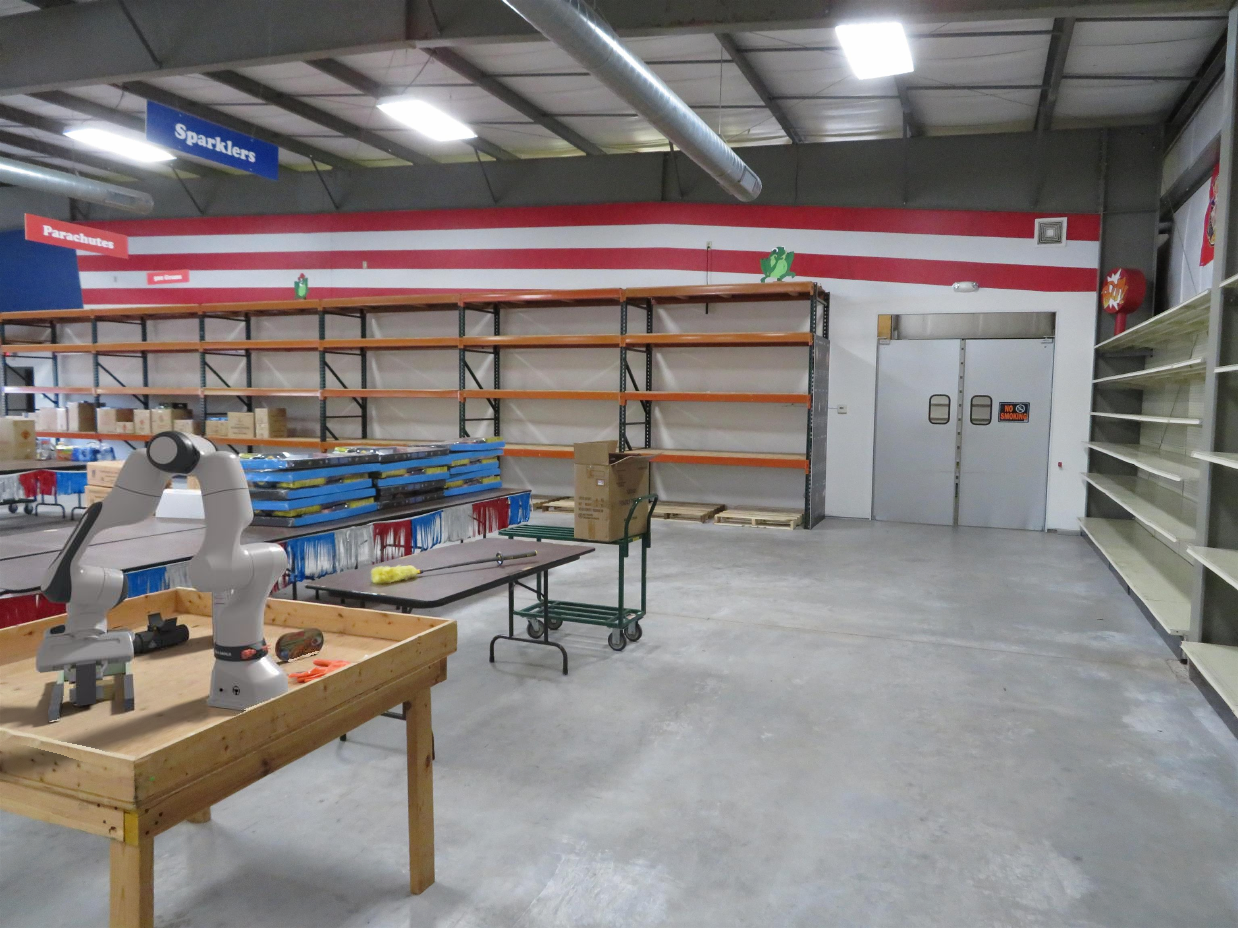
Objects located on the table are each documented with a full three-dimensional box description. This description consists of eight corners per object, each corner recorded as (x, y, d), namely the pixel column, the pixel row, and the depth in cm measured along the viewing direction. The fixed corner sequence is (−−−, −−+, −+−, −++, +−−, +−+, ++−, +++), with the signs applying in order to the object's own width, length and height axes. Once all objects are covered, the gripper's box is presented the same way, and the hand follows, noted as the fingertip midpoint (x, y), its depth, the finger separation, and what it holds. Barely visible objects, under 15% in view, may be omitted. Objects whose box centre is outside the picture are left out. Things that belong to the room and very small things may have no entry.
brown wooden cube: (113, 698, 199) (113, 683, 199) (94, 701, 197) (94, 685, 197) (114, 693, 203) (113, 678, 202) (95, 696, 200) (95, 681, 200)
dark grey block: (103, 702, 194) (102, 662, 193) (68, 707, 190) (68, 666, 189) (103, 695, 198) (103, 656, 197) (69, 700, 194) (69, 660, 194)
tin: (279, 665, 228) (279, 636, 228) (273, 663, 230) (273, 634, 230) (324, 652, 241) (324, 625, 240) (318, 650, 243) (318, 624, 242)
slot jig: (134, 709, 192) (134, 697, 192) (48, 722, 183) (48, 710, 183) (132, 684, 209) (132, 673, 209) (54, 695, 200) (54, 684, 200)
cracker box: (214, 634, 257) (213, 570, 256) (234, 632, 259) (234, 569, 258) (211, 646, 244) (210, 579, 243) (232, 644, 247) (232, 578, 245)
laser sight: (102, 657, 232) (101, 623, 231) (178, 639, 251) (178, 608, 250) (119, 663, 227) (119, 629, 226) (196, 644, 246) (195, 613, 245)
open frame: (130, 685, 209) (130, 674, 209) (56, 695, 200) (56, 683, 200) (129, 670, 220) (129, 660, 220) (59, 680, 211) (59, 669, 211)
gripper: (134, 633, 208) (135, 680, 200) (38, 643, 197) (35, 694, 189) (134, 620, 204) (136, 668, 196) (36, 630, 193) (34, 681, 185)
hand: (86, 681), depth 193 cm, fingers closed on dark grey block, 4 cm apart
